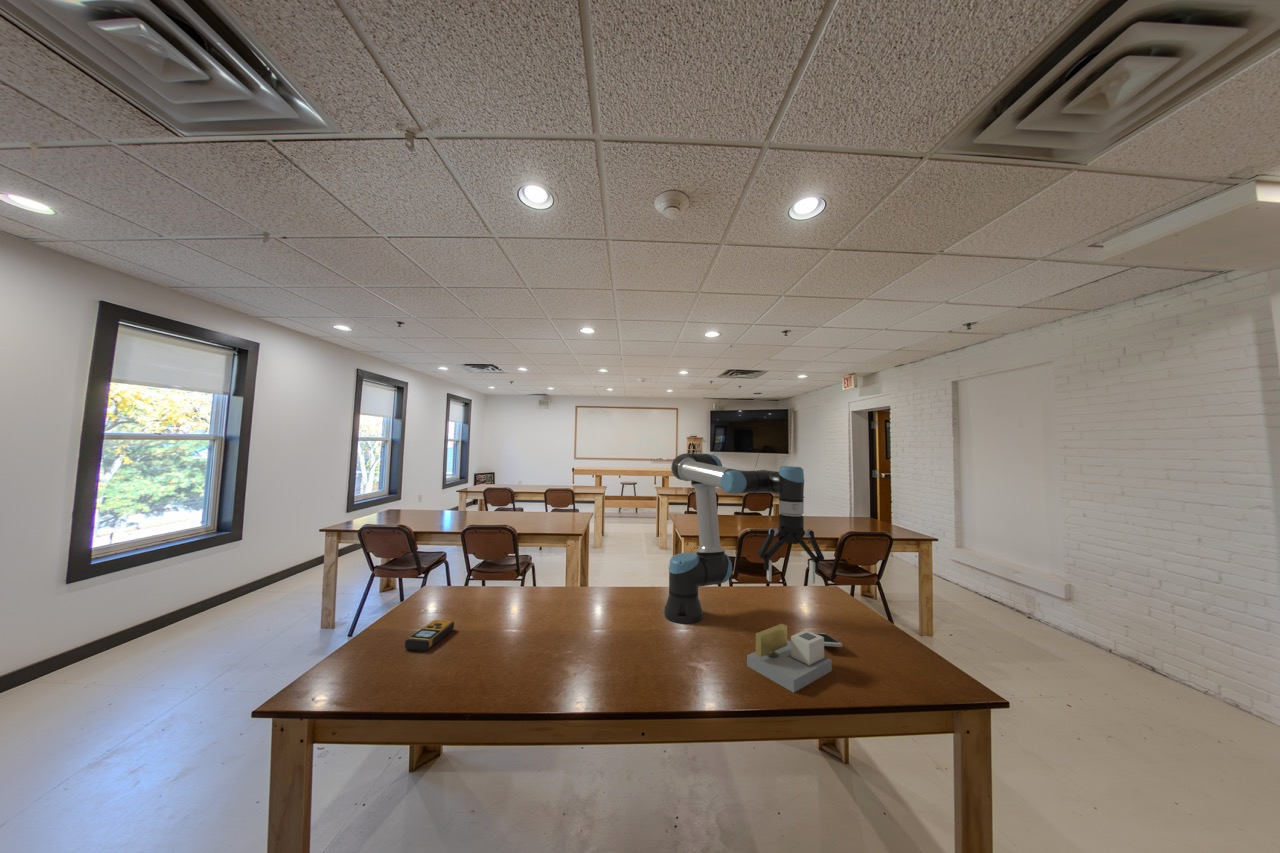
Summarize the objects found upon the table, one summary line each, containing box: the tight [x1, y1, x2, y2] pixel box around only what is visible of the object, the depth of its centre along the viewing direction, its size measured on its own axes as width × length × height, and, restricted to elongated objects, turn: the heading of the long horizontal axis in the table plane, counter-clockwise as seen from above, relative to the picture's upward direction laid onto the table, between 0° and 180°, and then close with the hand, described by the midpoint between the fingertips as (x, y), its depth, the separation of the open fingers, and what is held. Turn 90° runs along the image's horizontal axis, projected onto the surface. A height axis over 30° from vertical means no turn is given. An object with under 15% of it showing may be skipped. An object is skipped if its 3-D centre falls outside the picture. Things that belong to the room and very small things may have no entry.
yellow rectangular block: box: [755, 623, 788, 657], centre depth 122 cm, size 13×2×7 cm, turn 125°
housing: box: [746, 639, 833, 693], centre depth 120 cm, size 16×20×4 cm
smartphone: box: [811, 631, 843, 648], centre depth 137 cm, size 7×15×1 cm, turn 175°
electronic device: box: [404, 619, 455, 652], centre depth 134 cm, size 8×16×3 cm, turn 175°
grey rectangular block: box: [790, 629, 825, 665], centre depth 121 cm, size 6×8×6 cm
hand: (790, 581), depth 127 cm, fingers open, 13 cm apart
